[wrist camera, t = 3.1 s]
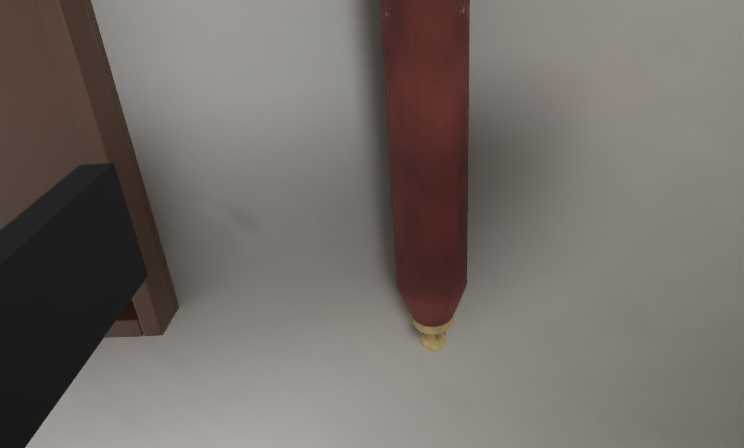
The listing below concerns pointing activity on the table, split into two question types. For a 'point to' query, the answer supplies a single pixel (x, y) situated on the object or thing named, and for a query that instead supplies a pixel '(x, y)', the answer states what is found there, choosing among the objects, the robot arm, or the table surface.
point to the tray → (72, 133)
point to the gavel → (428, 155)
